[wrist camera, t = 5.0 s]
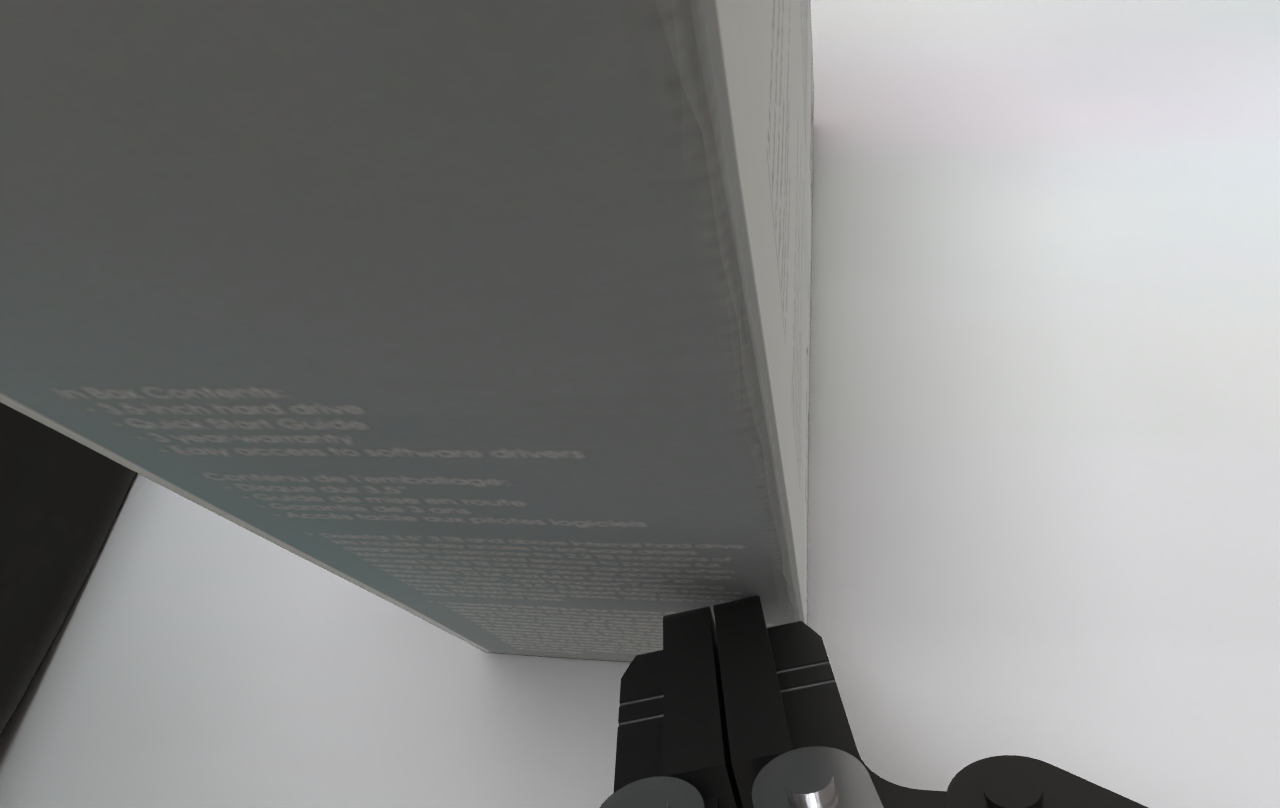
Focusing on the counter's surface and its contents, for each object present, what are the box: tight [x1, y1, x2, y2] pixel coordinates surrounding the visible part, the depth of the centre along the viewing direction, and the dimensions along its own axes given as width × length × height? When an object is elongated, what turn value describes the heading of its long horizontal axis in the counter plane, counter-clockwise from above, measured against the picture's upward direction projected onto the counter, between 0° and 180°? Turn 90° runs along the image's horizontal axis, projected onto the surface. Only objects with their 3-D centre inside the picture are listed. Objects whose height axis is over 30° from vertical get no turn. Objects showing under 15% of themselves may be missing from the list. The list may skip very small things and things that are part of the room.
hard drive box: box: [0, 0, 814, 662], centre depth 14 cm, size 16×8×20 cm, turn 175°
